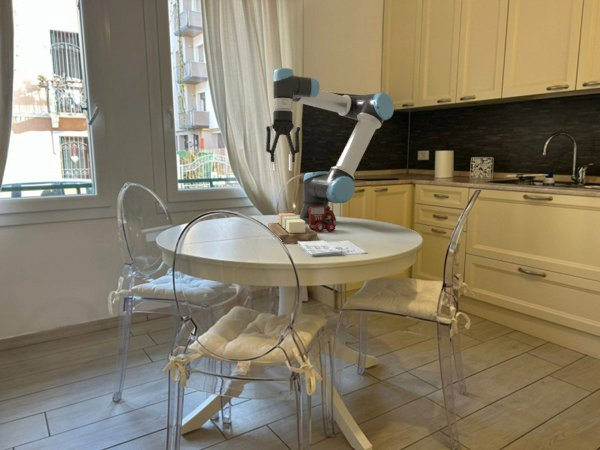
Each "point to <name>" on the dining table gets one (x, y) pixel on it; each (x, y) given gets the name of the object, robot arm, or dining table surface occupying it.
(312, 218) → the toy fire truck
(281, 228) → the board
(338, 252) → the printed paper napkins
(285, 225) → the pale green square block
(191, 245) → the dining table surface
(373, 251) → the dining table surface
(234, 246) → the dining table surface
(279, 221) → the salmon orange square block
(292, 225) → the cream yellow square block
